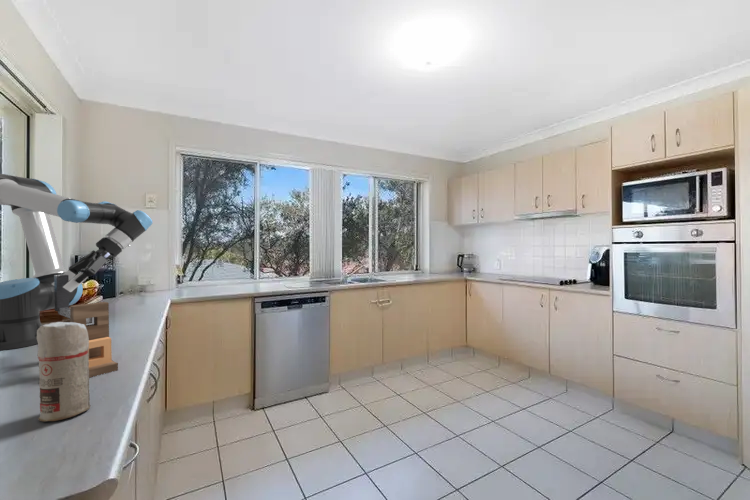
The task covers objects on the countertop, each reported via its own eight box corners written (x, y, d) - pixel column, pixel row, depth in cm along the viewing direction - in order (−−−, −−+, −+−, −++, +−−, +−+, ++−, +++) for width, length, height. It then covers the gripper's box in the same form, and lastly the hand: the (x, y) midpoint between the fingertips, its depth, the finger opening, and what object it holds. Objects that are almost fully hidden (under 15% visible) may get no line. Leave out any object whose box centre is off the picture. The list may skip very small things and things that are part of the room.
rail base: (51, 357, 107) (50, 298, 106) (83, 351, 113) (82, 295, 113) (82, 379, 90) (81, 309, 90) (117, 370, 97) (116, 305, 96)
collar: (77, 367, 93) (77, 342, 93) (108, 360, 99) (108, 336, 99) (80, 369, 92) (80, 344, 92) (111, 361, 98) (111, 338, 98)
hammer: (54, 313, 113) (54, 275, 113) (66, 311, 115) (65, 274, 115) (81, 324, 97) (80, 280, 97) (94, 322, 100) (93, 279, 100)
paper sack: (31, 417, 70) (29, 323, 70) (79, 401, 78) (78, 316, 77) (48, 428, 66) (46, 328, 66) (97, 409, 74) (96, 320, 73)
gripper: (135, 250, 120) (82, 298, 108) (110, 250, 134) (61, 291, 122) (117, 235, 115) (60, 283, 103) (93, 236, 129) (40, 278, 118)
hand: (60, 288), depth 113 cm, fingers open, 13 cm apart
